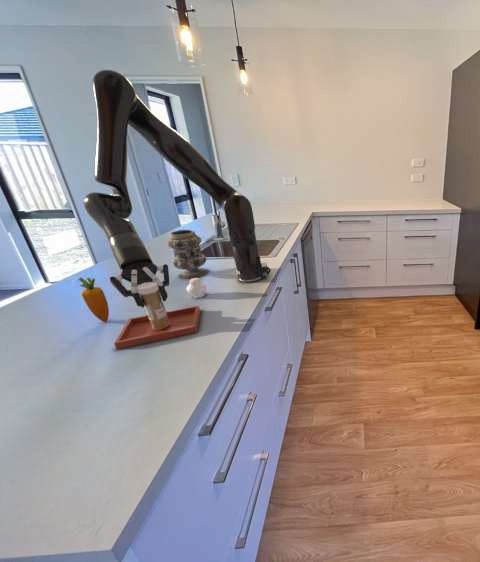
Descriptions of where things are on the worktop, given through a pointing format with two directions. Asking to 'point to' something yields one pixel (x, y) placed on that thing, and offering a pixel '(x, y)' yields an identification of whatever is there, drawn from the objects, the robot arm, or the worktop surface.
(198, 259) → the ornate carved vase
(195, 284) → the white rounded lump
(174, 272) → the worktop surface
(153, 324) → the sprinkles bottle
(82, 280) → the carrot
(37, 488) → the worktop surface
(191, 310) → the tray
